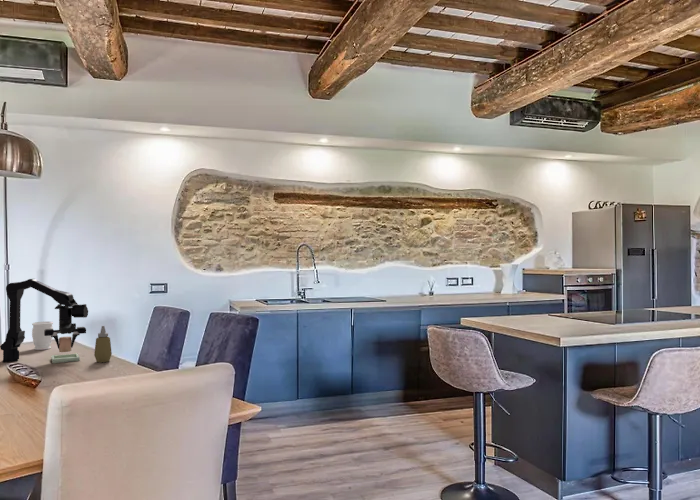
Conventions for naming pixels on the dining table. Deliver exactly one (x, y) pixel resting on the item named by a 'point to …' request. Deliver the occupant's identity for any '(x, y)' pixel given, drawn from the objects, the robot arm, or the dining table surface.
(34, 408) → the dining table surface
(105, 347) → the squeeze bottle
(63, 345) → the pink rounded cylinder
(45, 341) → the jar
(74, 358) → the tray
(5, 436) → the dining table surface
